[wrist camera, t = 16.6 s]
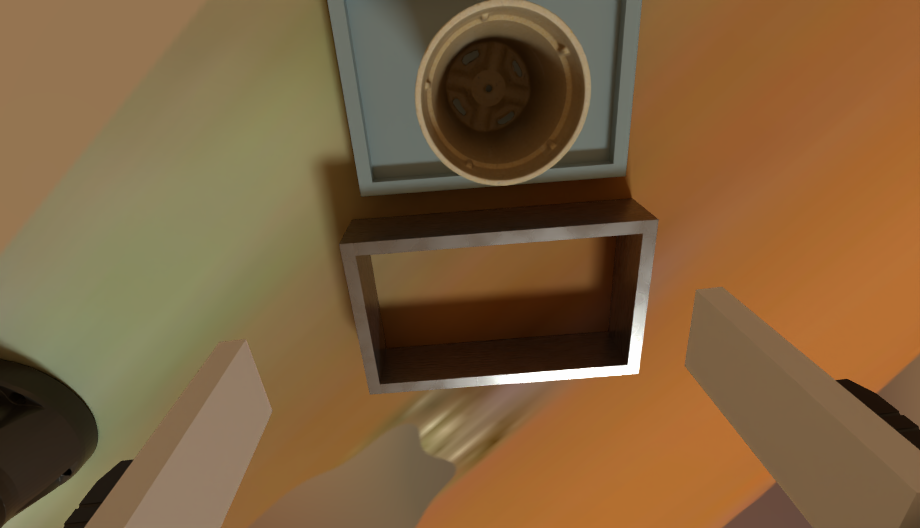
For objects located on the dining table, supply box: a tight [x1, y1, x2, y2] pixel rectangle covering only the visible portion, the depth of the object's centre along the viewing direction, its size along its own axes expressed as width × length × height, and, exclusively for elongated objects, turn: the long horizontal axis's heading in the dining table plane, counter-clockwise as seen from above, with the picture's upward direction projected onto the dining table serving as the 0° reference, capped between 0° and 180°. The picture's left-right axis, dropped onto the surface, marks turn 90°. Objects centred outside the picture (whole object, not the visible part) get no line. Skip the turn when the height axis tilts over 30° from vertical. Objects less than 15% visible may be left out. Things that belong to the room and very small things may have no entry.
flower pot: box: [415, 0, 591, 186], centre depth 28 cm, size 9×9×9 cm
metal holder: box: [339, 198, 659, 394], centre depth 38 cm, size 23×14×5 cm, turn 94°
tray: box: [327, 0, 642, 197], centre depth 32 cm, size 20×14×2 cm
